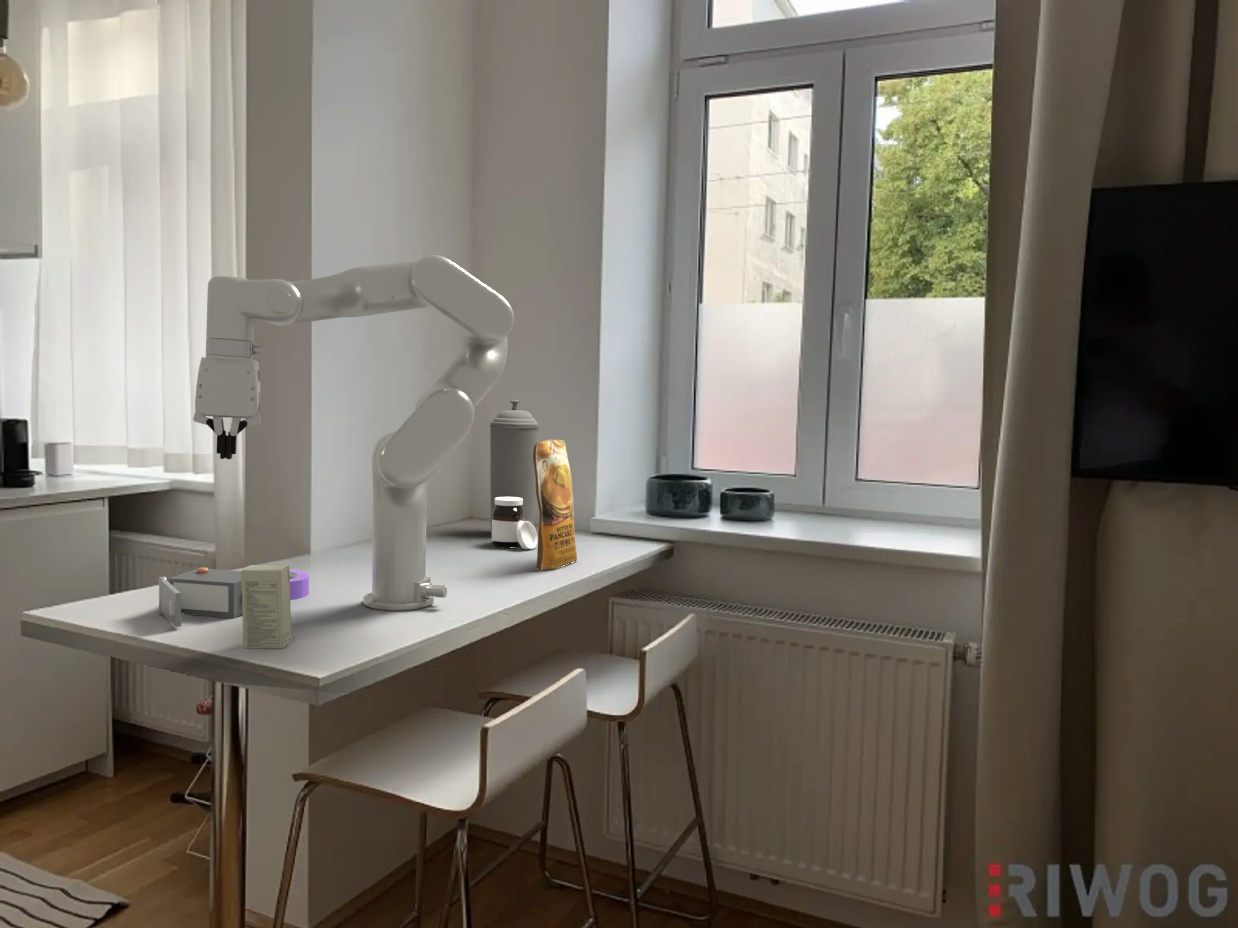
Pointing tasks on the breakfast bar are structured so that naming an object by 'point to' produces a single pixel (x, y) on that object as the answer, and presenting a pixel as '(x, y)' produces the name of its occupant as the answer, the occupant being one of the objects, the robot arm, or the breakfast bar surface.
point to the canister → (513, 458)
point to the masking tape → (298, 584)
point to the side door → (169, 602)
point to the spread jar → (511, 525)
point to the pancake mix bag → (554, 505)
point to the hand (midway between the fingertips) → (226, 458)
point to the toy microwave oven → (210, 592)
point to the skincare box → (266, 606)
